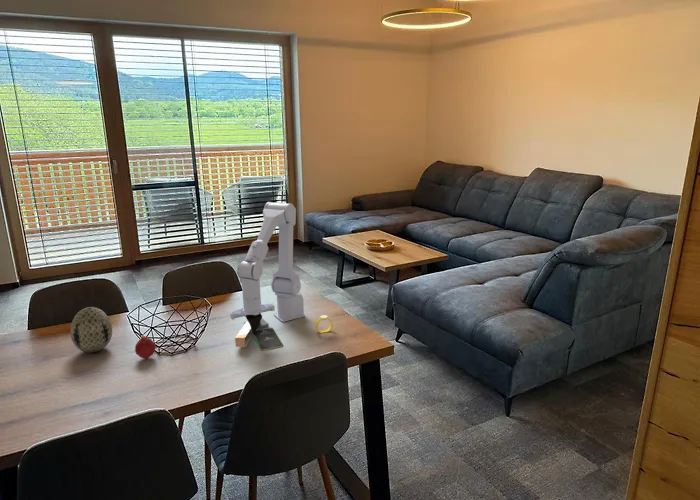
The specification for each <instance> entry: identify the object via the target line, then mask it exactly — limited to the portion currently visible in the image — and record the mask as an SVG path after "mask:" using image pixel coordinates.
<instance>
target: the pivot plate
mask: <svg viewBox="0 0 700 500" xmlns="http://www.w3.org/2000/svg"><path fill="white" fill-rule="evenodd" d="M246 322H247V321H245V322H243V326H244V325H245V323H246ZM269 326H270V325H269V322H267V321H266V320H265V319H264V318H262V319H261V322H260V323H259V325H258V329H257V330H261V329H265V328H269Z"/></svg>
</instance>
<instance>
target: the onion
mask: <svg viewBox="0 0 700 500" xmlns="http://www.w3.org/2000/svg"><path fill="white" fill-rule="evenodd" d="M134 348H135V349H134V350H135V351H134V352H135V354H136V355H138V357H140V358H142V359H143V360H148V359H149V358H151V356H153V355H154V353H155V351H156V343H155V342H154V340H152V339H151V338H149V337H146V336H145V335H144V334H142V336H141V338H140V339H139V340H138V341H137V342H136V344H135V346H134Z"/></svg>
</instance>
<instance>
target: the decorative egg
mask: <svg viewBox="0 0 700 500" xmlns="http://www.w3.org/2000/svg"><path fill="white" fill-rule="evenodd" d="M112 336H113V326H112V322H111V320H110V317H109V316H108V315H107V314H106V312H105V311H103V310H102V309H100V308H98V307H95V306H89V307H85V308H84V307H83V308H82V309H81V310H79V311H78V312H76V314H75V316H74V317H73V319H72V322H71V325H70V338H71V342H72V343H73V345H74V346H75V347H76V348H77V349H78V350H79V351H82V352H85V353H90V354H91V353H96V352H99V351H101V350H103V349H105V348H106V347H107V346H108V345H109V343H110V341H111V339H112Z"/></svg>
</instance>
